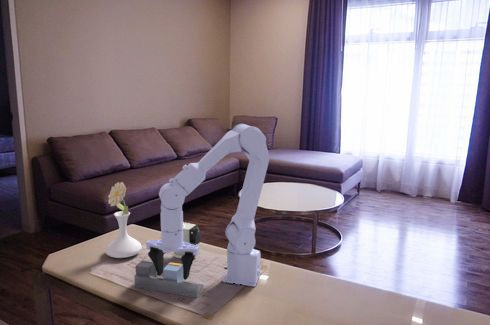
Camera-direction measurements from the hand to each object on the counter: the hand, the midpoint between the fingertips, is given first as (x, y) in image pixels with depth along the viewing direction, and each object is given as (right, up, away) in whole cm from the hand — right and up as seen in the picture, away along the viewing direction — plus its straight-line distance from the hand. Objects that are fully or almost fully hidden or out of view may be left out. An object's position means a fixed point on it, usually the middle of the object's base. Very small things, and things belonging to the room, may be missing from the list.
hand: (173, 275), depth 97 cm
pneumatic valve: (0, 0, +19) cm, 19 cm away
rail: (-1, -4, 0) cm, 4 cm away
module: (0, -2, +1) cm, 2 cm away
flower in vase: (-20, 0, +20) cm, 28 cm away
